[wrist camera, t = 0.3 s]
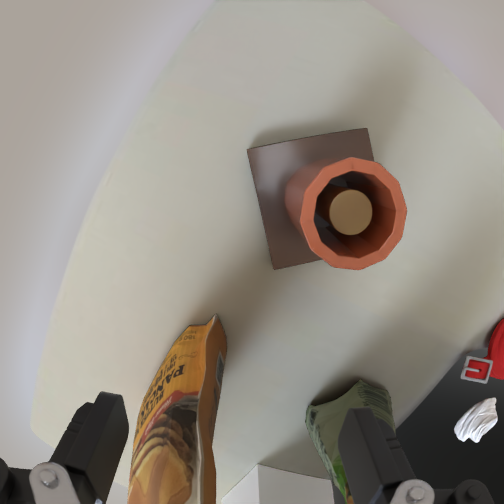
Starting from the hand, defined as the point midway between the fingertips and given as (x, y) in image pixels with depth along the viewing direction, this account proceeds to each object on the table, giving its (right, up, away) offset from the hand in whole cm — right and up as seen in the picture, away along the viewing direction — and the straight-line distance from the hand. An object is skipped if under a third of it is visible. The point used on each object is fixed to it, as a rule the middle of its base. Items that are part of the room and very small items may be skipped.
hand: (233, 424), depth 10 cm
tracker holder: (+31, -6, +21) cm, 38 cm away
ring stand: (+6, +11, +17) cm, 21 cm away
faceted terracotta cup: (+6, +10, +15) cm, 19 cm away
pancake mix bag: (-6, -7, +21) cm, 23 cm away
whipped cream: (+34, -18, +24) cm, 45 cm away
